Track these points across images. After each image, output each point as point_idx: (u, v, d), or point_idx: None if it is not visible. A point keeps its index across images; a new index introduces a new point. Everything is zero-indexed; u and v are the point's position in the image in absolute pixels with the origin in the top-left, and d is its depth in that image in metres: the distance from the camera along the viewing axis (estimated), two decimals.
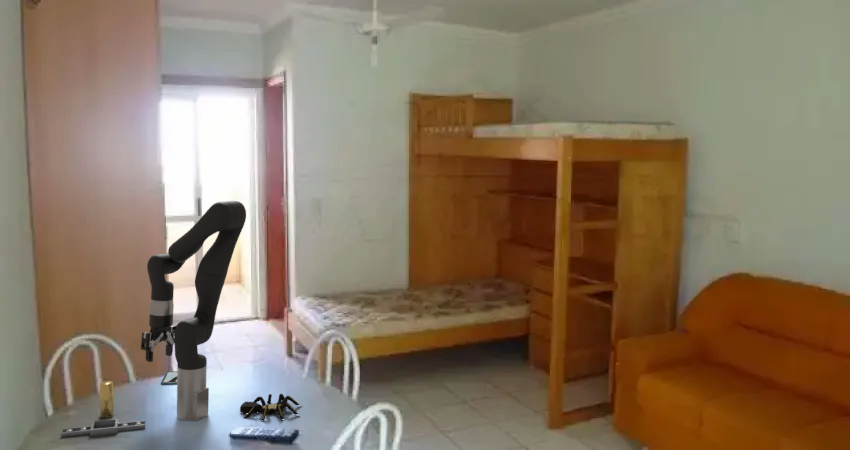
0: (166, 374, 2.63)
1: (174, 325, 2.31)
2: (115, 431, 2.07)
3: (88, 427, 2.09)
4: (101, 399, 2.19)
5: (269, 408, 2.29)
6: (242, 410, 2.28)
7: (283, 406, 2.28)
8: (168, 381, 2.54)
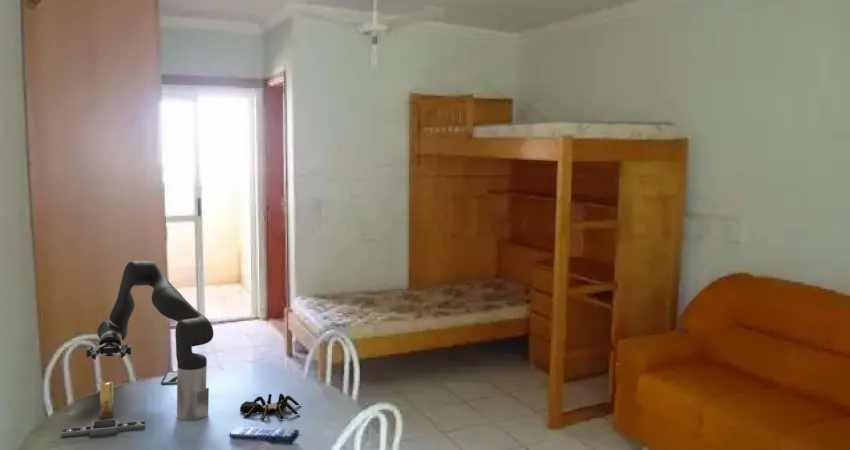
0: (166, 374, 2.63)
1: None
2: (115, 431, 2.07)
3: (88, 427, 2.09)
4: (101, 399, 2.19)
5: (269, 408, 2.29)
6: (242, 410, 2.28)
7: (283, 406, 2.28)
8: (168, 381, 2.54)
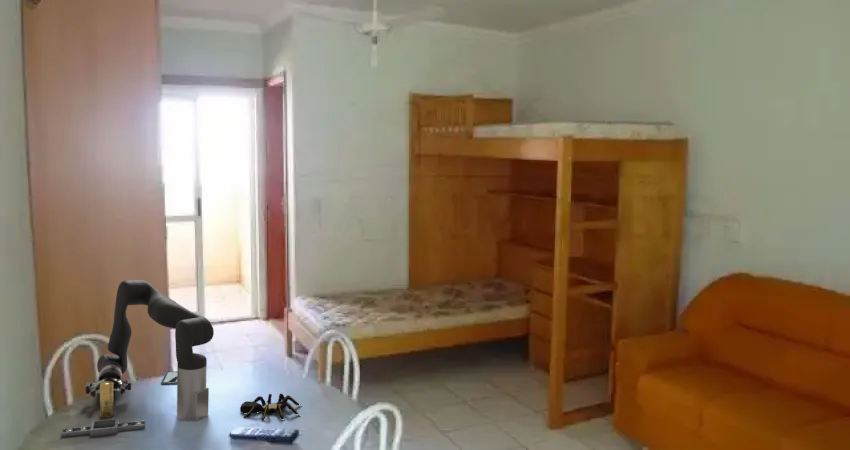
0: (166, 374, 2.63)
1: None
2: (115, 431, 2.07)
3: (88, 427, 2.09)
4: (101, 399, 2.19)
5: (269, 408, 2.29)
6: (242, 410, 2.28)
7: (283, 406, 2.28)
8: (168, 381, 2.54)
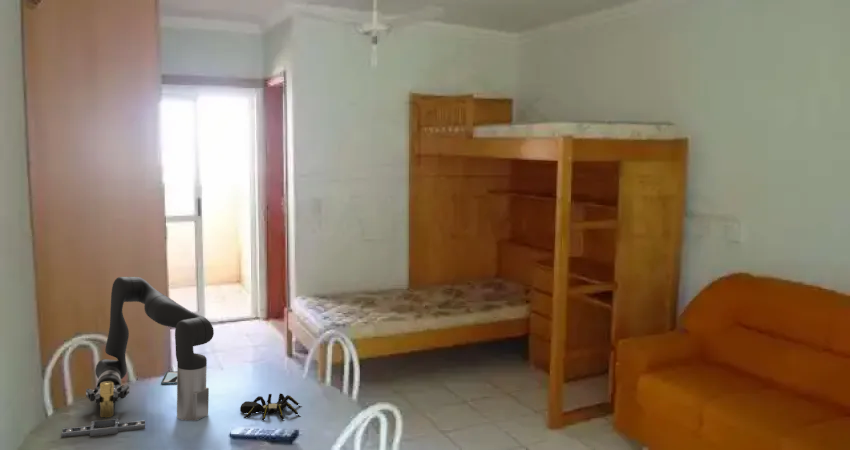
0: (166, 374, 2.63)
1: None
2: (115, 431, 2.07)
3: (88, 427, 2.09)
4: (101, 399, 2.19)
5: (269, 408, 2.29)
6: (242, 410, 2.28)
7: (283, 406, 2.28)
8: (168, 381, 2.54)
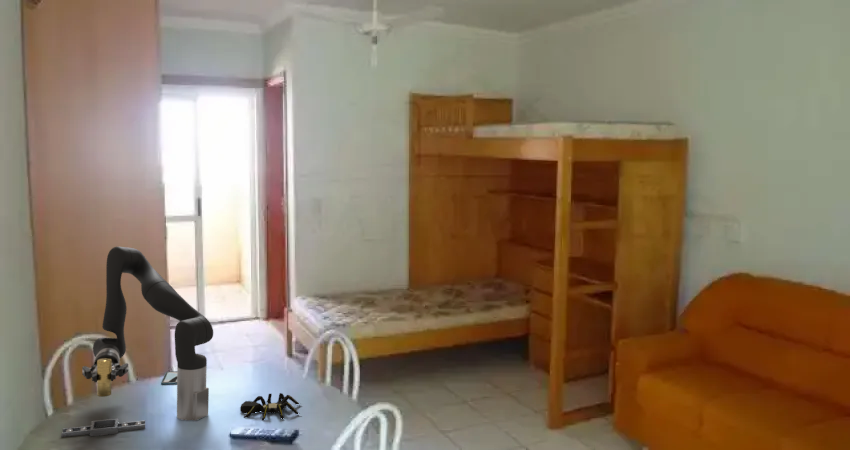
0: (166, 374, 2.63)
1: None
2: (115, 431, 2.07)
3: (88, 427, 2.09)
4: (98, 377, 2.06)
5: (269, 407, 2.29)
6: (242, 409, 2.28)
7: (283, 405, 2.29)
8: (168, 381, 2.54)
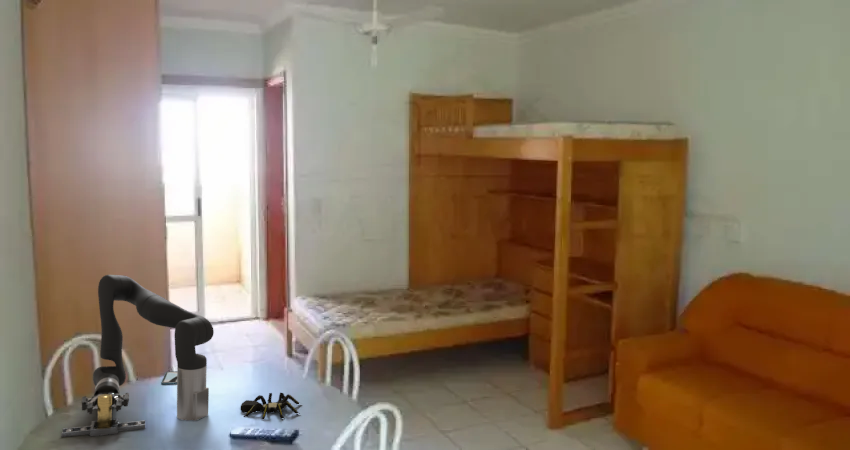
0: (166, 374, 2.63)
1: None
2: (115, 431, 2.07)
3: (88, 427, 2.09)
4: (99, 413, 2.07)
5: (269, 407, 2.30)
6: (242, 409, 2.29)
7: (283, 405, 2.29)
8: (168, 381, 2.54)
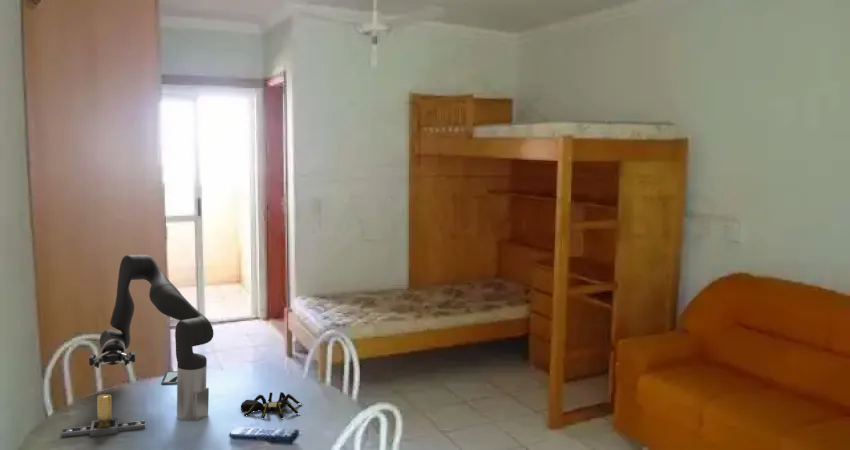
0: (166, 374, 2.63)
1: None
2: (115, 431, 2.07)
3: (88, 427, 2.09)
4: (98, 413, 2.07)
5: (269, 406, 2.30)
6: (243, 408, 2.30)
7: (283, 404, 2.29)
8: (168, 381, 2.54)
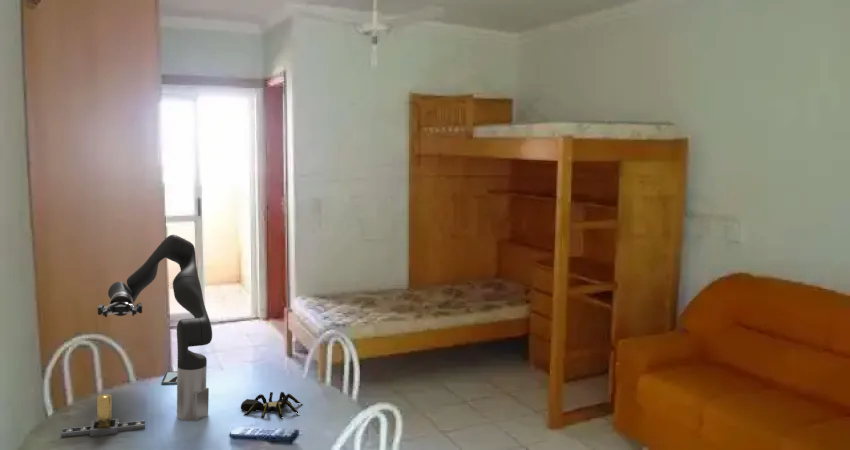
0: (166, 374, 2.63)
1: None
2: (115, 431, 2.07)
3: (88, 427, 2.09)
4: (98, 413, 2.07)
5: (269, 406, 2.31)
6: (243, 407, 2.30)
7: (283, 404, 2.30)
8: (168, 381, 2.54)
